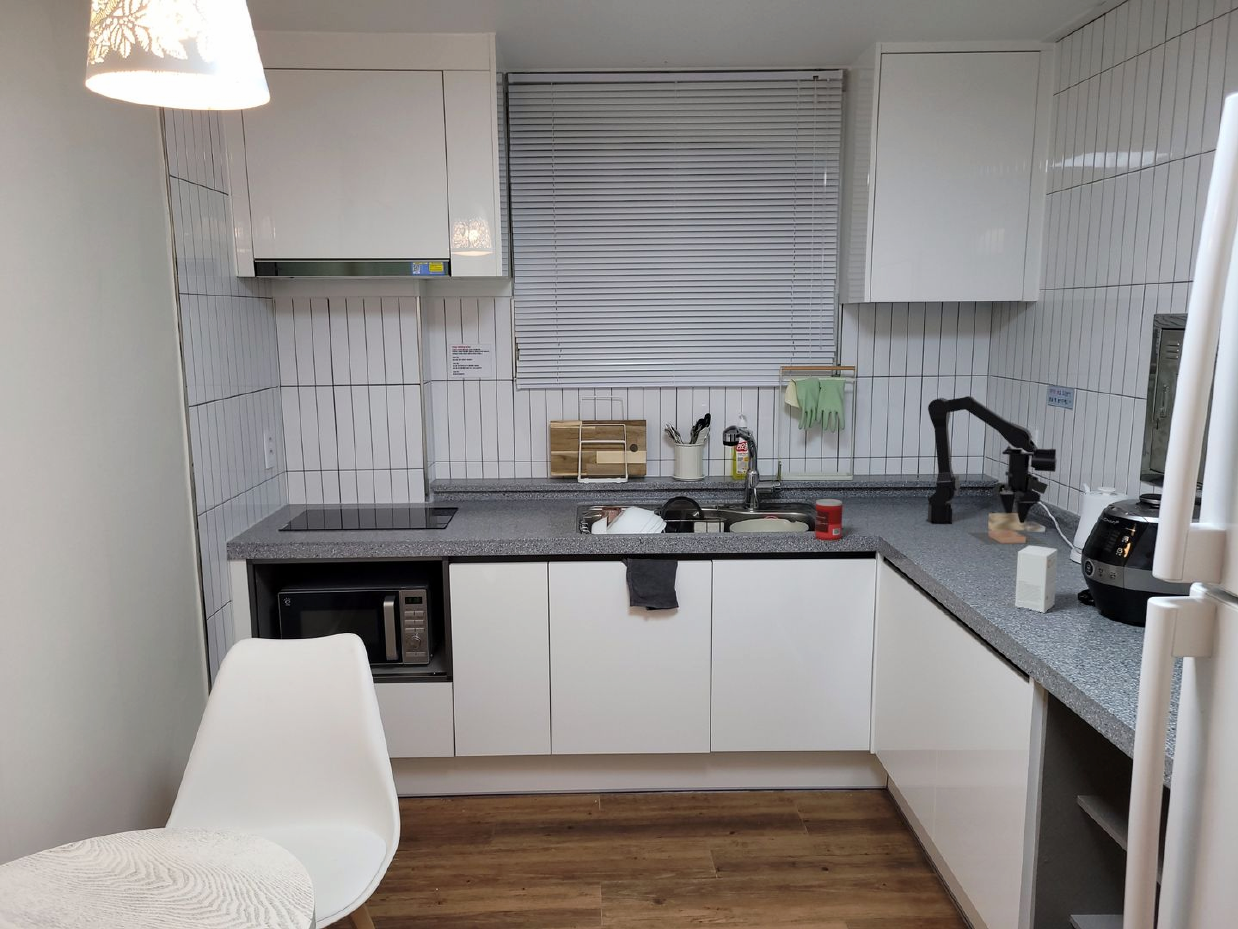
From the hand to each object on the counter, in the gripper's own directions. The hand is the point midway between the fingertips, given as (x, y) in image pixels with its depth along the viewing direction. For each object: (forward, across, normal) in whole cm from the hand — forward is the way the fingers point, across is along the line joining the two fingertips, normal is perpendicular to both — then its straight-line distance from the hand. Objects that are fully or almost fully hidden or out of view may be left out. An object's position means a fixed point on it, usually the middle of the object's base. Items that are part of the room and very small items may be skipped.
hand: (1015, 519), depth 280 cm
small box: (+3, -78, +29) cm, 83 cm away
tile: (+2, -10, +8) cm, 13 cm away
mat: (+3, -12, +8) cm, 15 cm away
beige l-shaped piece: (+3, 0, 0) cm, 3 cm away
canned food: (+3, -9, +60) cm, 60 cm away
